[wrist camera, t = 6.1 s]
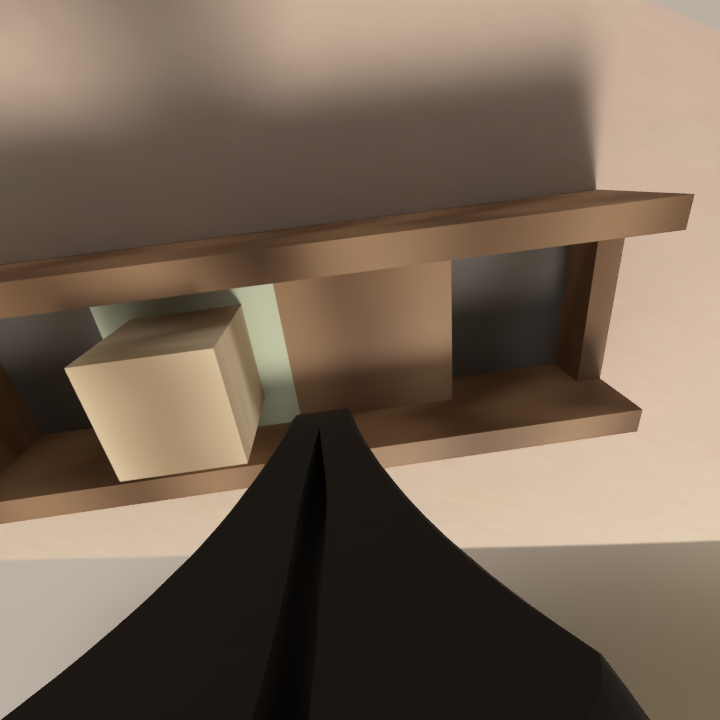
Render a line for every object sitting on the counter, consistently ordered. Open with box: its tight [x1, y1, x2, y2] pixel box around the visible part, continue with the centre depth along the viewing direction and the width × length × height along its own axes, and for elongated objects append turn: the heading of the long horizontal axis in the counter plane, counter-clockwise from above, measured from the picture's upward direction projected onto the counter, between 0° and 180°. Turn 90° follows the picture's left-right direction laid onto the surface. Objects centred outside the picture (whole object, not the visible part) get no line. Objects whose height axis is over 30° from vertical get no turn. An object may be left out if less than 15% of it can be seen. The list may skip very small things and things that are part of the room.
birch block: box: [64, 305, 265, 482], centre depth 13 cm, size 4×4×4 cm
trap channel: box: [0, 190, 694, 524], centre depth 15 cm, size 26×8×4 cm, turn 96°
